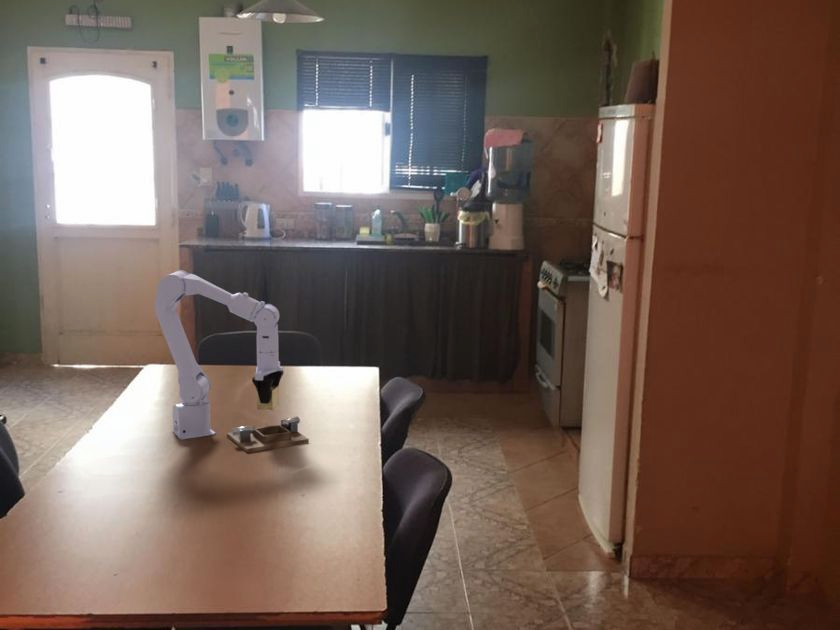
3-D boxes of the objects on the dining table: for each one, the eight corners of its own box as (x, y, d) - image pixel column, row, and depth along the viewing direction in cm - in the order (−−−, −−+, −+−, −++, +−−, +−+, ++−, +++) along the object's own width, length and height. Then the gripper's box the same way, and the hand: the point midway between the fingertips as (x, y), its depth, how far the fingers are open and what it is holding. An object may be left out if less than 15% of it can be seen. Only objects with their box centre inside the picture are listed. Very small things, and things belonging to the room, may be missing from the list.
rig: (246, 452, 220) (246, 441, 219) (226, 436, 232) (226, 425, 232) (308, 442, 229) (308, 431, 228) (286, 427, 241) (286, 417, 241)
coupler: (272, 411, 231) (271, 391, 230) (256, 409, 232) (255, 390, 231) (279, 404, 236) (279, 385, 235) (264, 403, 237) (263, 384, 236)
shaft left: (233, 443, 224) (233, 429, 223) (231, 439, 227) (231, 425, 227) (255, 441, 226) (255, 428, 225) (253, 437, 229) (253, 424, 229)
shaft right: (292, 428, 238) (292, 415, 237) (302, 430, 236) (301, 417, 235) (279, 432, 234) (279, 419, 233) (289, 434, 232) (289, 421, 231)
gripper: (273, 357, 224) (273, 408, 226) (290, 346, 238) (291, 394, 240) (246, 356, 225) (247, 406, 227) (265, 344, 239) (266, 392, 241)
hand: (268, 400), depth 234 cm, fingers closed on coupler, 5 cm apart
